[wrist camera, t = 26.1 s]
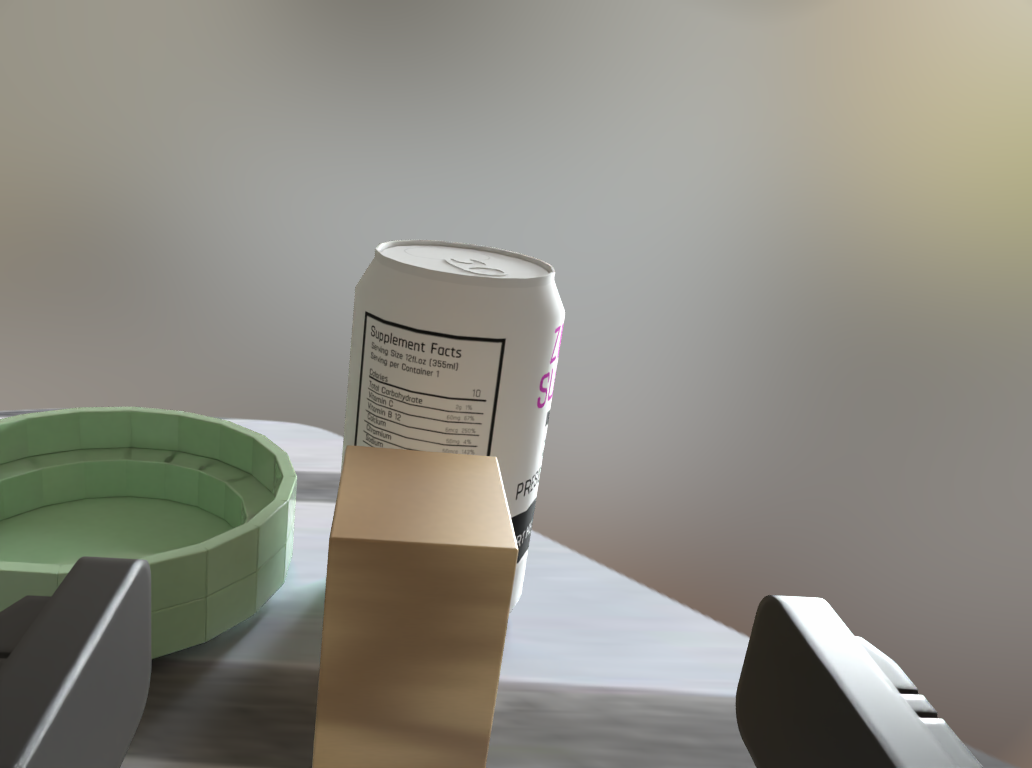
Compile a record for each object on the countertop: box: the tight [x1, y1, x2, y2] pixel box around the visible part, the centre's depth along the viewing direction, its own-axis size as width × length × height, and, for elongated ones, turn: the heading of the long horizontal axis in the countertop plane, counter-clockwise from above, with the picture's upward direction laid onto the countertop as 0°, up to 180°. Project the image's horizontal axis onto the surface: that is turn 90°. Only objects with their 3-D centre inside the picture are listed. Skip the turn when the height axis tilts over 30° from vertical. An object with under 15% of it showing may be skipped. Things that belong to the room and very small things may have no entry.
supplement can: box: [341, 240, 565, 613], centre depth 35 cm, size 8×8×15 cm
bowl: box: [0, 407, 297, 659], centre depth 36 cm, size 15×15×4 cm
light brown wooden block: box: [312, 445, 519, 768], centre depth 24 cm, size 4×6×11 cm
